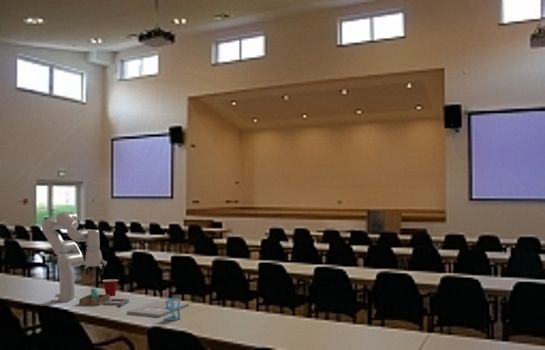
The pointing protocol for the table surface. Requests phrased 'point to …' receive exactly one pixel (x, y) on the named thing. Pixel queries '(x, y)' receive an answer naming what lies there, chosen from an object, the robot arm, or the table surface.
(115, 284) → the plastic cup
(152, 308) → the award plaque
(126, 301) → the tray
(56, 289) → the table surface
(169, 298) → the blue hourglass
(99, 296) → the walnut box
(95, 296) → the peg
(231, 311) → the table surface
